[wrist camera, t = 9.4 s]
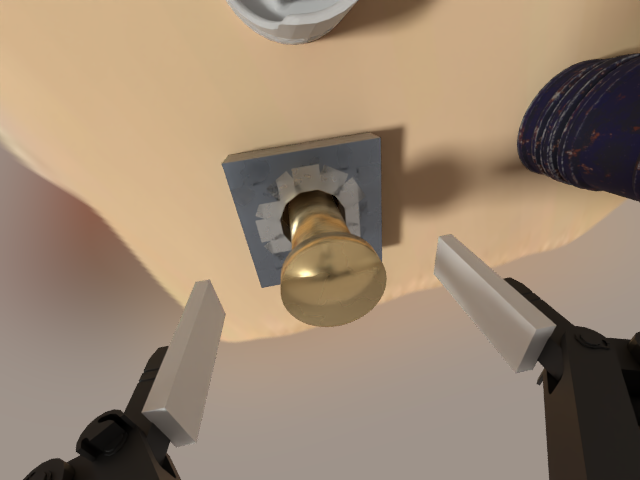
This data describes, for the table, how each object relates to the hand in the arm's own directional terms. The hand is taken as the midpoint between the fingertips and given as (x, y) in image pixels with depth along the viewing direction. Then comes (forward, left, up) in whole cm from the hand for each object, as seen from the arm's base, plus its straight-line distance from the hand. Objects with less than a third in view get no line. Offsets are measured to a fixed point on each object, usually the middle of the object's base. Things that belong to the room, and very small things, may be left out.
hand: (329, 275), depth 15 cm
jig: (0, 0, -11) cm, 11 cm away
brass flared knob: (0, 0, -11) cm, 11 cm away
